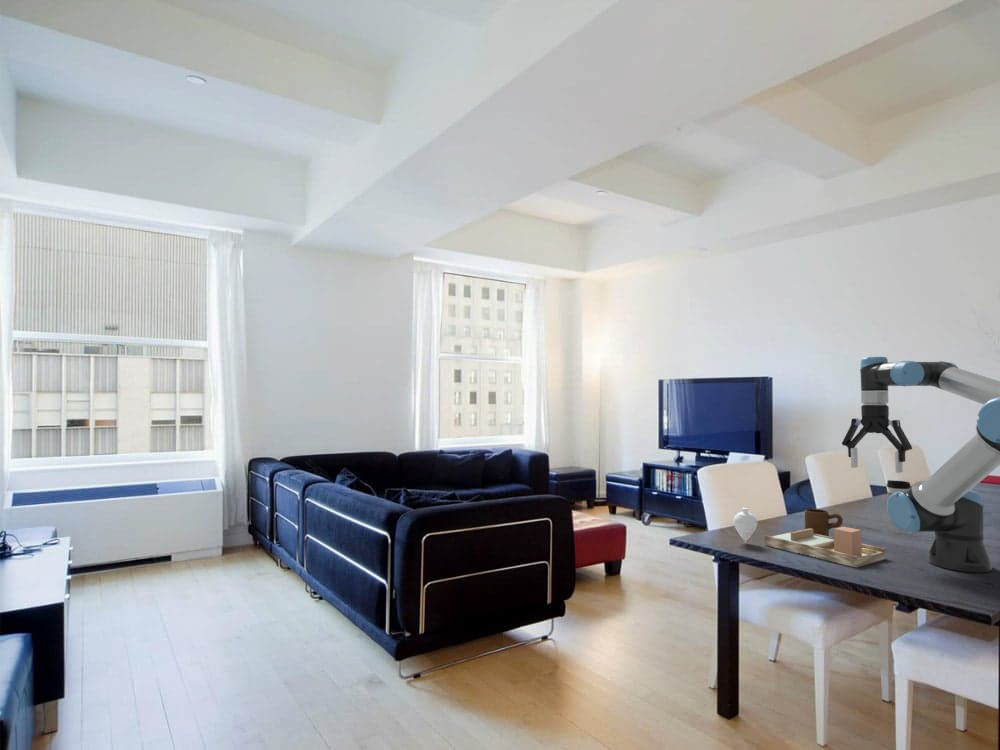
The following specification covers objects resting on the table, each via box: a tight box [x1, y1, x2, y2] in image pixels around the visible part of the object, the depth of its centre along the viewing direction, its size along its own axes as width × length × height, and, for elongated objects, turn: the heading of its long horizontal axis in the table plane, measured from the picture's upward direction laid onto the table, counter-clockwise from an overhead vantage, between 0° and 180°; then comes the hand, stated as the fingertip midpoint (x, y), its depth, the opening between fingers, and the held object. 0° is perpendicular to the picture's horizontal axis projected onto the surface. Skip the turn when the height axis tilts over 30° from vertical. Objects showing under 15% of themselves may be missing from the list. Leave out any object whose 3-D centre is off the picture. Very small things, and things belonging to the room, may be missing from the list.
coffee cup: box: [886, 479, 912, 499], centre depth 244 cm, size 8×8×15 cm
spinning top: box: [733, 507, 758, 544], centre depth 203 cm, size 8×8×12 cm
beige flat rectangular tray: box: [764, 529, 887, 568], centre depth 192 cm, size 30×17×3 cm, turn 31°
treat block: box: [833, 526, 863, 557], centre depth 186 cm, size 6×6×8 cm
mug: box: [804, 508, 844, 537], centre depth 210 cm, size 12×8×9 cm, turn 51°
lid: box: [771, 528, 834, 547], centre depth 198 cm, size 14×15×3 cm
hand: (876, 469), depth 192 cm, fingers open, 13 cm apart
